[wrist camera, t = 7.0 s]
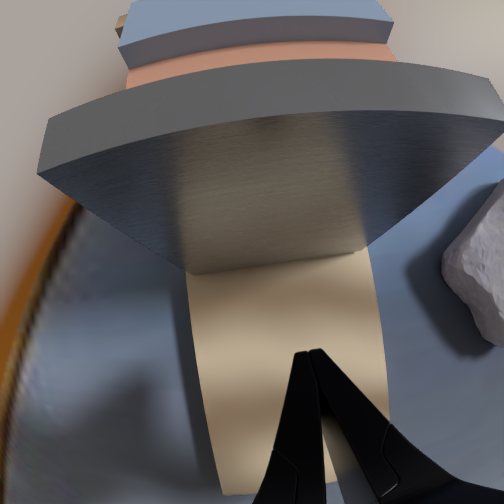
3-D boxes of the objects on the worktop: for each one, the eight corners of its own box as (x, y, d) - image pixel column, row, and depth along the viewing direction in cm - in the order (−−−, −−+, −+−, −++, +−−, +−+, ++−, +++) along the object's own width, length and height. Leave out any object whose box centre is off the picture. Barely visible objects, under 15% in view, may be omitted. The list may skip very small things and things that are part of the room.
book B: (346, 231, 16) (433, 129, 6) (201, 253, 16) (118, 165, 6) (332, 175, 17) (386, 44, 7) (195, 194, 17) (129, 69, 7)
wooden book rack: (383, 458, 14) (474, 555, 3) (225, 486, 14) (187, 616, 3) (328, 129, 19) (366, -9, 8) (181, 149, 19) (119, 16, 8)
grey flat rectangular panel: (361, 250, 16) (513, 122, 4) (193, 275, 16) (36, 173, 4) (356, 229, 16) (488, 78, 4) (191, 253, 16) (48, 118, 4)
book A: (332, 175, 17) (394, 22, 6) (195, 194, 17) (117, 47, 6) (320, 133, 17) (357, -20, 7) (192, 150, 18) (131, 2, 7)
